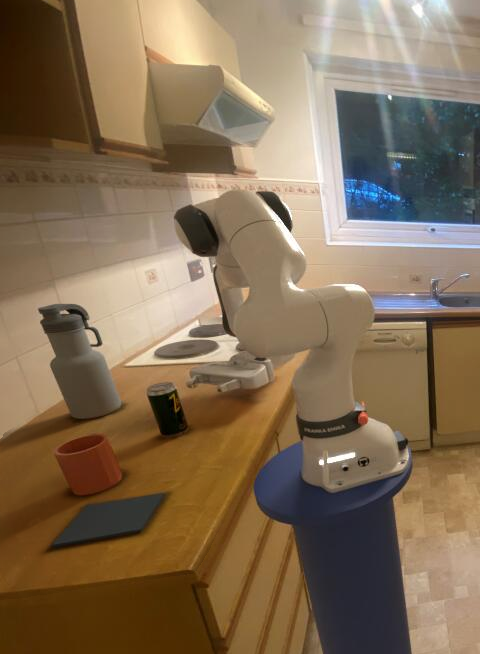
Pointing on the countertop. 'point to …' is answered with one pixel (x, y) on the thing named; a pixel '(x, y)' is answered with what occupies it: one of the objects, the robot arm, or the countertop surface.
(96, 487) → the terracotta cup
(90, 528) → the slate mat
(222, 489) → the countertop surface
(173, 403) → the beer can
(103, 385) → the water bottle
